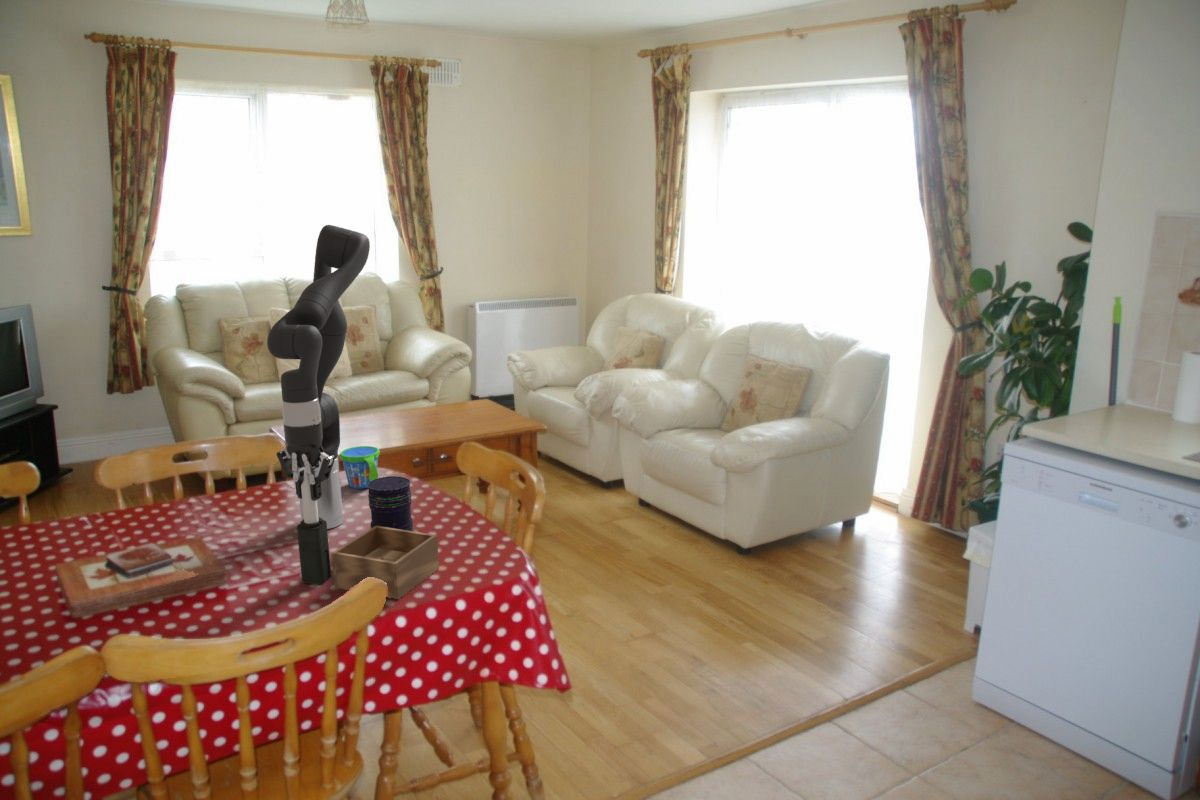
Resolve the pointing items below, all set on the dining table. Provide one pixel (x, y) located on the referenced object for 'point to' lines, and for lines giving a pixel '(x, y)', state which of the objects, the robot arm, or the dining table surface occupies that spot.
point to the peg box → (386, 559)
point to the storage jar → (390, 503)
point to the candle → (312, 540)
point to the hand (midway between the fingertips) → (309, 498)
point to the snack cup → (360, 465)
